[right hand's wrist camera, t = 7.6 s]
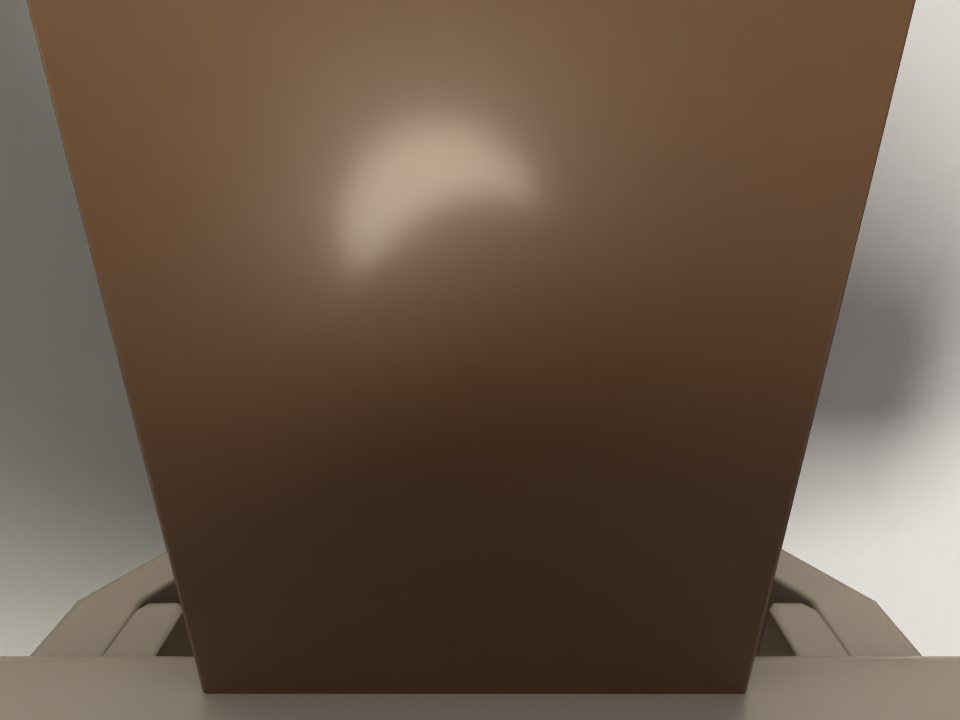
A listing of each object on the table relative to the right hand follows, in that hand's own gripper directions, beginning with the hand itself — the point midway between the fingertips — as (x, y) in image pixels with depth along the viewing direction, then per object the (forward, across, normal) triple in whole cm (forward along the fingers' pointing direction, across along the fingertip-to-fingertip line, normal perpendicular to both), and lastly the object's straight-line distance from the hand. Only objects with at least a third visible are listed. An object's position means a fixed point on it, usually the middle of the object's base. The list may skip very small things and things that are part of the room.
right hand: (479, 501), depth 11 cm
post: (+3, 0, -26) cm, 26 cm away
